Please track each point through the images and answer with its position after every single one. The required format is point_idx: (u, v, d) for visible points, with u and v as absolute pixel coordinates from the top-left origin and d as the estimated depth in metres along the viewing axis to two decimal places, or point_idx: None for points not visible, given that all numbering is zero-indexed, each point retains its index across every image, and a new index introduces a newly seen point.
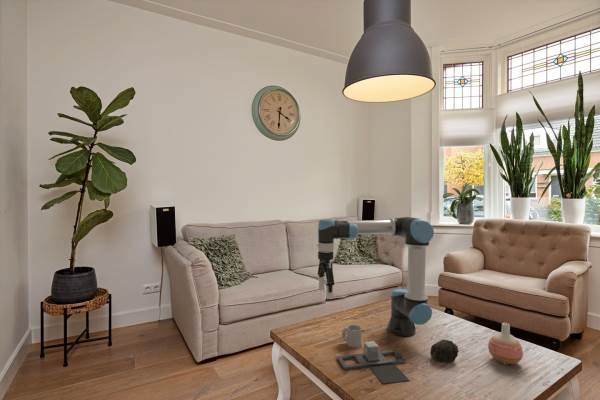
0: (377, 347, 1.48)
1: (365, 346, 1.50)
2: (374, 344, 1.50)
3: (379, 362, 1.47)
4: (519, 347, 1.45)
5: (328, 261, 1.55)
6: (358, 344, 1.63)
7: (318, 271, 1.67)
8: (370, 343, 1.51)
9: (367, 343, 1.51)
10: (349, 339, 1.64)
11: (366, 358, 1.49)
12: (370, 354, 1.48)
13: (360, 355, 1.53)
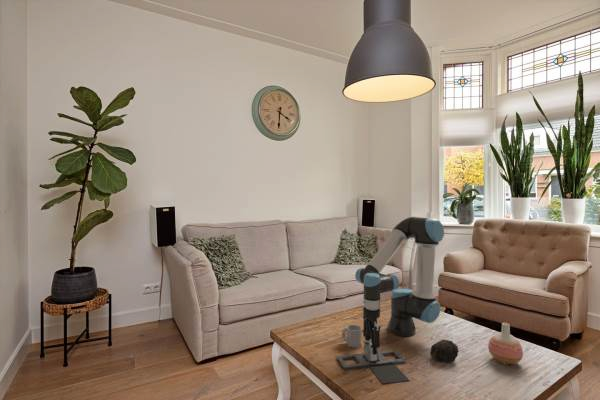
0: None
1: (365, 346, 1.50)
2: None
3: (379, 362, 1.47)
4: (519, 347, 1.45)
5: (375, 319, 1.46)
6: (358, 344, 1.63)
7: (364, 332, 1.55)
8: (370, 343, 1.51)
9: (367, 343, 1.51)
10: (349, 339, 1.64)
11: (366, 358, 1.49)
12: (370, 354, 1.48)
13: (360, 355, 1.53)
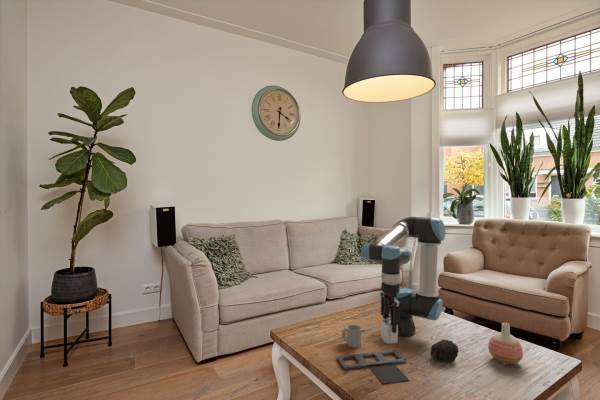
0: None
1: (383, 324, 1.39)
2: None
3: (379, 362, 1.47)
4: (519, 347, 1.45)
5: (395, 295, 1.35)
6: (358, 344, 1.63)
7: (381, 310, 1.44)
8: (388, 321, 1.39)
9: (385, 321, 1.39)
10: (349, 339, 1.64)
11: (384, 337, 1.38)
12: (389, 332, 1.36)
13: (360, 355, 1.53)
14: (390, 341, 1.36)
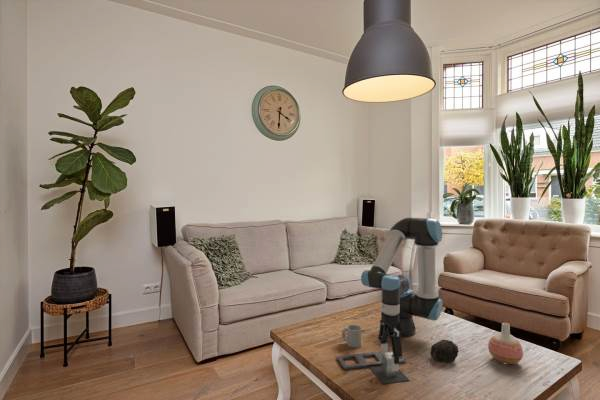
0: None
1: (383, 357, 1.39)
2: None
3: (379, 362, 1.47)
4: (519, 347, 1.45)
5: (395, 325, 1.35)
6: (358, 344, 1.63)
7: (379, 335, 1.45)
8: (388, 354, 1.40)
9: (385, 354, 1.40)
10: (349, 339, 1.64)
11: (384, 370, 1.38)
12: (389, 366, 1.36)
13: (360, 355, 1.53)
14: (390, 375, 1.37)
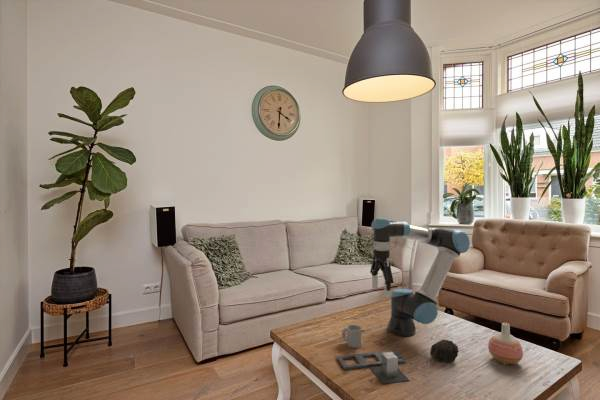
0: (396, 359, 1.37)
1: (383, 357, 1.39)
2: (393, 355, 1.39)
3: (379, 362, 1.47)
4: (519, 347, 1.45)
5: (385, 259, 1.56)
6: (358, 344, 1.63)
7: (371, 269, 1.68)
8: (388, 354, 1.40)
9: (385, 354, 1.40)
10: (349, 339, 1.64)
11: (384, 370, 1.38)
12: (389, 366, 1.36)
13: (360, 355, 1.53)
14: (390, 375, 1.37)
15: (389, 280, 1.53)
